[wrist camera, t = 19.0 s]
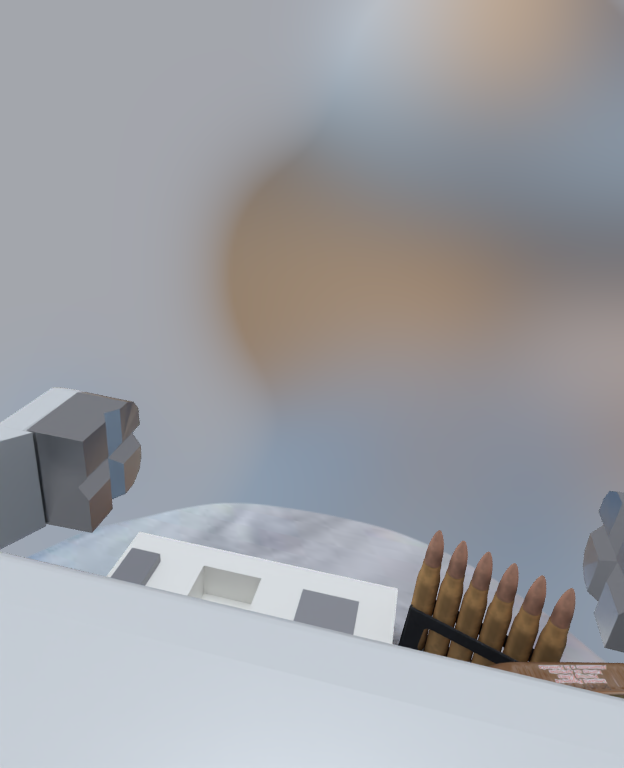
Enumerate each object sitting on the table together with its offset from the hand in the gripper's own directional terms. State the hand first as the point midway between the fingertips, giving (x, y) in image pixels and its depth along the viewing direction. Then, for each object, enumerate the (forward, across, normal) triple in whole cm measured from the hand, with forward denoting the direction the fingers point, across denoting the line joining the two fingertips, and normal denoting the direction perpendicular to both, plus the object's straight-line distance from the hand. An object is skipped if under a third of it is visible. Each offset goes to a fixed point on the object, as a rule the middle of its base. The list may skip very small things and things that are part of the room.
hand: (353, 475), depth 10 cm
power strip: (+22, +8, +32) cm, 40 cm away
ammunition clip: (+23, -9, +32) cm, 41 cm away
